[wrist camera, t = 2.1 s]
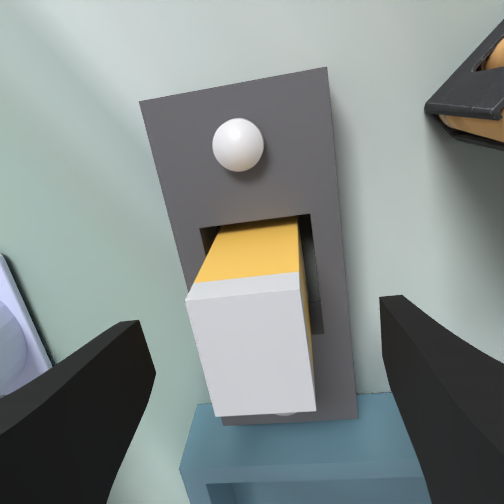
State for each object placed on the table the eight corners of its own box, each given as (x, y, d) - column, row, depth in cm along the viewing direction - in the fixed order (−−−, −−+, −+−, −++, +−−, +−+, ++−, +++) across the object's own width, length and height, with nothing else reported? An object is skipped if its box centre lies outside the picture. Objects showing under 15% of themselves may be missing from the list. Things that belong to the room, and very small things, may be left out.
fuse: (242, 299, 18) (215, 416, 12) (225, 216, 17) (184, 300, 10) (307, 292, 18) (316, 411, 11) (296, 207, 16) (299, 288, 10)
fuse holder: (230, 387, 20) (220, 436, 18) (162, 98, 15) (132, 102, 12) (350, 379, 19) (360, 429, 17) (321, 68, 14) (328, 66, 11)
